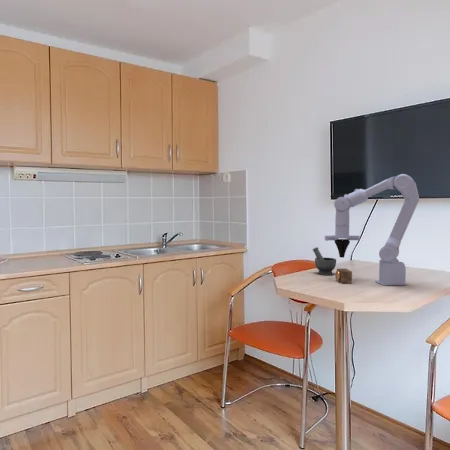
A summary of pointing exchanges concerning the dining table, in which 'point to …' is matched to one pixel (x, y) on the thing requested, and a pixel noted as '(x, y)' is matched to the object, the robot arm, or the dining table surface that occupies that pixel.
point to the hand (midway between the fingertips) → (341, 257)
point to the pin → (338, 275)
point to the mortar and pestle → (324, 263)
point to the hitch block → (345, 276)
